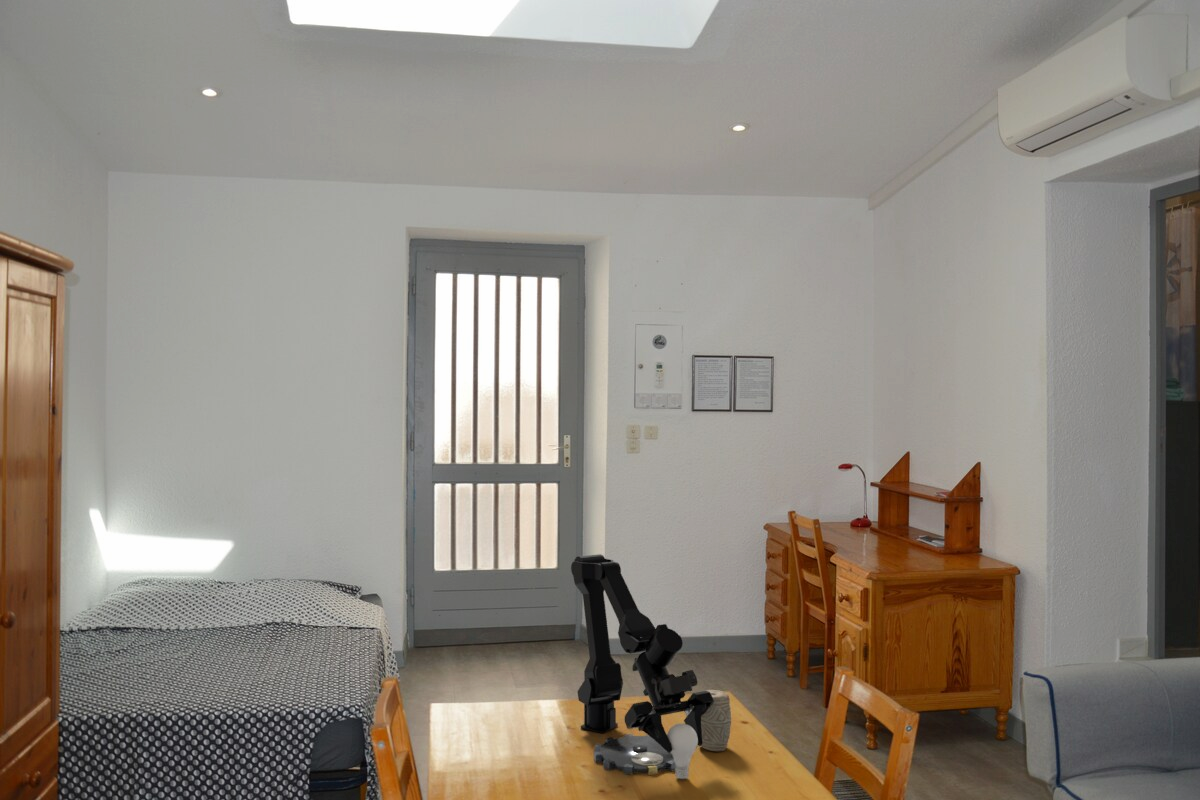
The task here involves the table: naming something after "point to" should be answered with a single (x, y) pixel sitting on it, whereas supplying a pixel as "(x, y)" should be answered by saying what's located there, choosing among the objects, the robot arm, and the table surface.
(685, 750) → the lightbulb
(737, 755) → the table surface
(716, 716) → the carving
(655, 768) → the sprocket plate
